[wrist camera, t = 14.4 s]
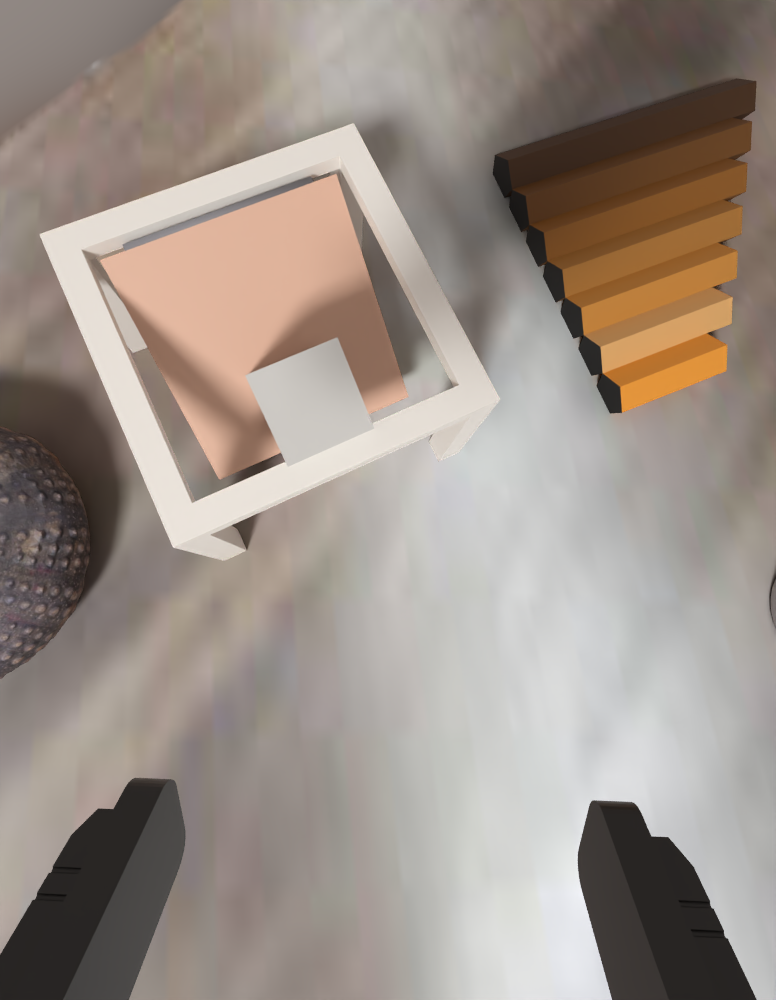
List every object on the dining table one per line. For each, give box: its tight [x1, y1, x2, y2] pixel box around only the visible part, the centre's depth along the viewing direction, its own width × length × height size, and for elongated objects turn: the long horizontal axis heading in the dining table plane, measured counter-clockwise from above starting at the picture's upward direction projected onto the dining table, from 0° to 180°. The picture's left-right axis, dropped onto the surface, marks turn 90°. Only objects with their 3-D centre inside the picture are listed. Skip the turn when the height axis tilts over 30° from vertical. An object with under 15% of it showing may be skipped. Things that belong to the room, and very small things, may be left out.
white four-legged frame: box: [39, 123, 500, 561], centre depth 37 cm, size 20×20×12 cm
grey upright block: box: [245, 338, 374, 466], centre depth 32 cm, size 5×5×10 cm
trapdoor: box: [100, 174, 408, 480], centre depth 36 cm, size 15×15×1 cm
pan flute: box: [493, 79, 756, 413], centre depth 47 cm, size 25×3×25 cm
